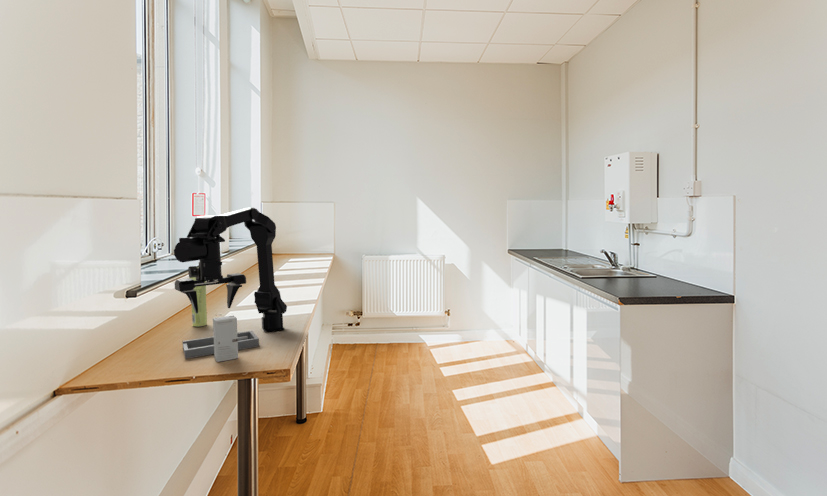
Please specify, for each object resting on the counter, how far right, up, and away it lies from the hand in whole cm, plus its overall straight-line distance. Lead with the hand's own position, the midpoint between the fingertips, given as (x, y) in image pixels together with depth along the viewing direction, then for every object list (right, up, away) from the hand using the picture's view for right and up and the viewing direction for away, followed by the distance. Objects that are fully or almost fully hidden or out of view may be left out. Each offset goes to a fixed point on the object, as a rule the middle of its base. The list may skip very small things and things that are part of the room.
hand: (213, 310), depth 134 cm
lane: (-1, -13, +8) cm, 15 cm away
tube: (-21, -11, +36) cm, 43 cm away
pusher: (+2, -12, +10) cm, 16 cm away
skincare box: (+5, -14, -2) cm, 15 cm away
